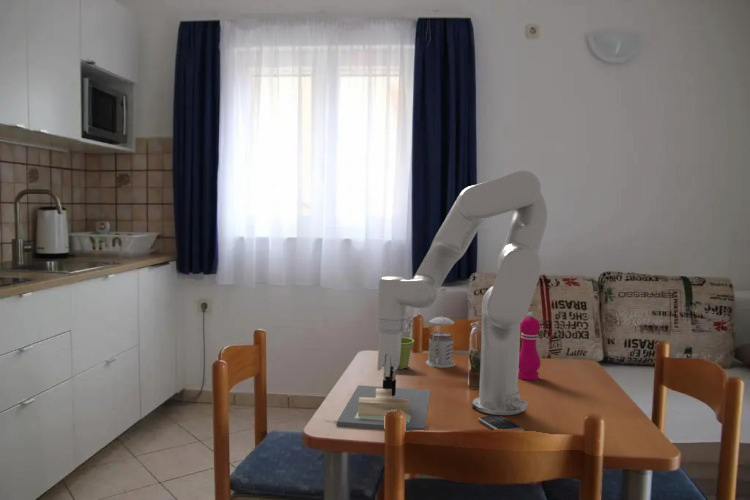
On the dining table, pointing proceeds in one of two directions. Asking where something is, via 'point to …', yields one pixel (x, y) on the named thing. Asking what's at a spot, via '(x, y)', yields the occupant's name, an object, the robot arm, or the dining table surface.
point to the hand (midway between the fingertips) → (388, 394)
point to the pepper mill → (529, 349)
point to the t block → (382, 404)
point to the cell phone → (499, 423)
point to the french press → (440, 343)
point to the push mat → (352, 419)
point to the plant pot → (405, 352)
